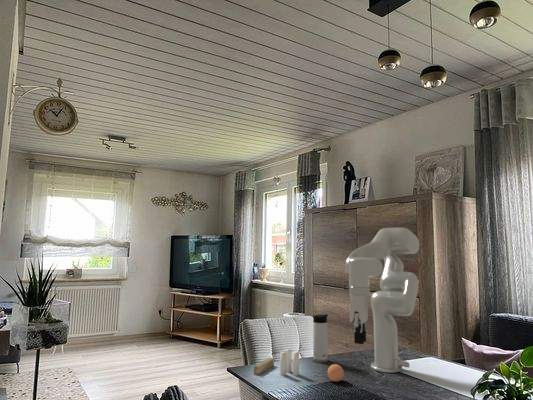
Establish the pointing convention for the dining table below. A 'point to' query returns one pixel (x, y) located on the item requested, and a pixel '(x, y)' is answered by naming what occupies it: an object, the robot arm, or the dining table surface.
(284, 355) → the pin
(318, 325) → the travel mug
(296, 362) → the front pin
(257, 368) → the wooden bar
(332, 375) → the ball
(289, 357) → the pin
